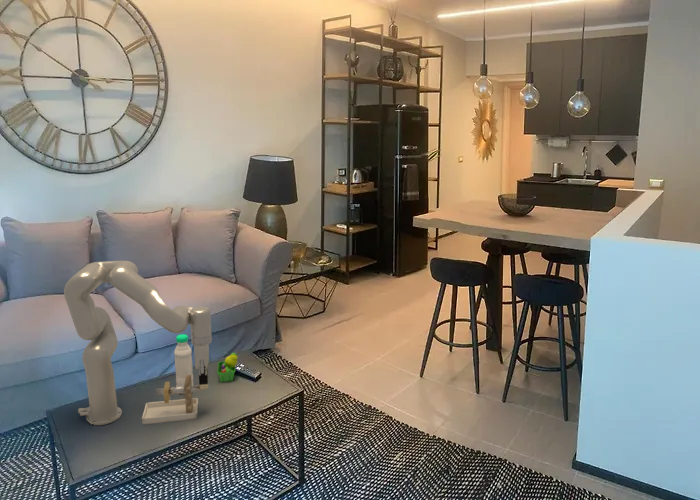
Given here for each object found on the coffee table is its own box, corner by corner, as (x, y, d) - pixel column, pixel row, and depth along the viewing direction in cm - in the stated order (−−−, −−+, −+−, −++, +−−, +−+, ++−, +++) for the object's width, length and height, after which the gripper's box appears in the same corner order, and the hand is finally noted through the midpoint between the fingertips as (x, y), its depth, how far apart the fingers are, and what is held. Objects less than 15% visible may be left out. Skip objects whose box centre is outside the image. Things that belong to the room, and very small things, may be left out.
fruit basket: (218, 372, 246) (217, 349, 243) (238, 370, 248) (237, 347, 245) (217, 383, 235) (216, 360, 233) (238, 382, 237) (237, 358, 234)
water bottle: (188, 395, 225) (185, 339, 219) (173, 393, 226) (169, 338, 220) (196, 387, 232) (193, 333, 226) (181, 385, 233) (178, 331, 227)
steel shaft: (155, 396, 206) (154, 374, 204) (156, 392, 209) (155, 371, 207) (208, 391, 210) (206, 370, 208) (208, 388, 213) (207, 367, 211)
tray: (142, 424, 203) (141, 418, 202) (146, 408, 214) (146, 402, 214) (196, 419, 207) (196, 413, 207) (198, 403, 219) (198, 397, 218)
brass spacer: (164, 403, 206) (163, 389, 205) (166, 395, 212) (165, 381, 210) (168, 402, 206) (167, 388, 205) (170, 395, 212) (169, 381, 211)
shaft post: (186, 416, 208) (184, 384, 205) (187, 405, 216) (185, 375, 212) (191, 415, 209) (189, 384, 205) (192, 405, 216) (191, 374, 213)
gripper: (192, 331, 213) (195, 373, 218) (190, 347, 198) (192, 392, 202) (212, 329, 215) (214, 371, 219) (210, 346, 199) (213, 391, 204)
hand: (203, 381), depth 211 cm, fingers closed on steel shaft, 3 cm apart
